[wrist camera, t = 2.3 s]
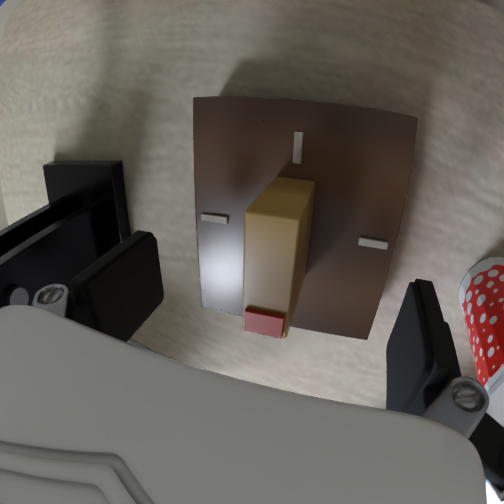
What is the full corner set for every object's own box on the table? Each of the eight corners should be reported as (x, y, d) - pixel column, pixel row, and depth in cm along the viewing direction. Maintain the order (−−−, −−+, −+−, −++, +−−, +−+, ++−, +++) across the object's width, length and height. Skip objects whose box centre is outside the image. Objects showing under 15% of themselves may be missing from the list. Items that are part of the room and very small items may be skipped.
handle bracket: (52, 161, 21) (-67, 218, 11) (122, 160, 19) (-28, 233, 9) (73, 266, 26) (-16, 341, 16) (140, 284, 24) (42, 386, 14)
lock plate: (217, 96, 16) (190, 97, 13) (406, 114, 13) (418, 117, 11) (219, 281, 21) (200, 308, 19) (367, 309, 19) (367, 342, 16)
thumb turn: (276, 175, 14) (241, 213, 10) (316, 181, 13) (298, 221, 9) (270, 271, 16) (239, 333, 12) (304, 277, 16) (285, 343, 12)
